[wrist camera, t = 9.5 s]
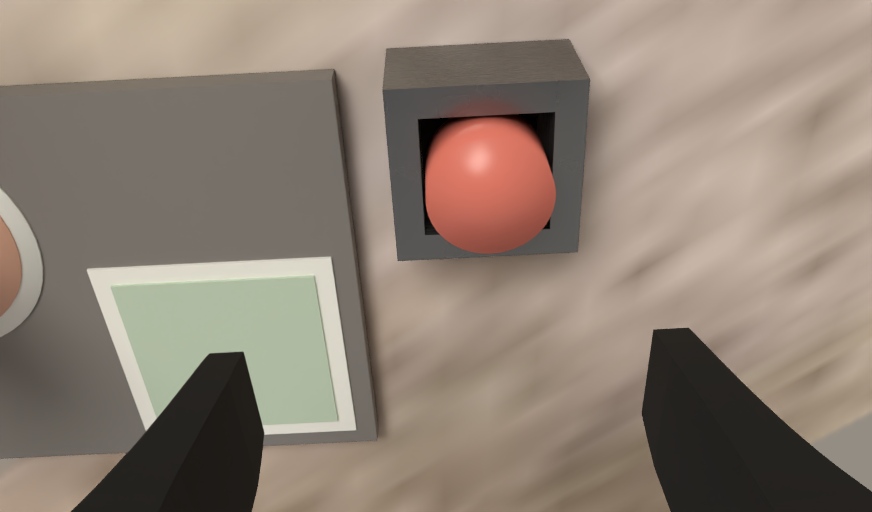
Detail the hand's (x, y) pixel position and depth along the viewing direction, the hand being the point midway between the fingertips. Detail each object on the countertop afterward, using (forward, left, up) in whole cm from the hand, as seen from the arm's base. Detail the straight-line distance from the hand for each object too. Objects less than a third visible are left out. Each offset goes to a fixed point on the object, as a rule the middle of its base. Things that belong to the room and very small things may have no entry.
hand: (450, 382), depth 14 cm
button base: (0, -1, -11) cm, 11 cm away
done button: (0, -1, -8) cm, 8 cm away
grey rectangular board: (-5, +12, -11) cm, 17 cm away
